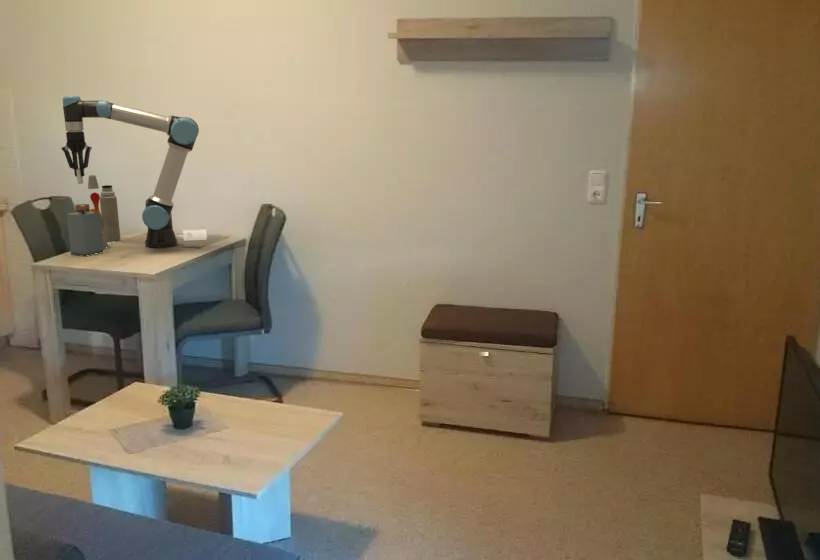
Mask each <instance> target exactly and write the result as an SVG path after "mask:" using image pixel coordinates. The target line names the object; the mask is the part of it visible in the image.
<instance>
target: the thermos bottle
mask: <svg viewBox="0 0 820 560" xmlns="http://www.w3.org/2000/svg"><path fill="white" fill-rule="evenodd" d="M99 204H100V206H99V207H100V213H101V215H102V216H106V220H105V224H104V228H103V234H104V236H105V239H106V241H107V243H112V241H115V242H118V241H119V240H120V241H121V232H120V221H119V220H120V218H119V210H118V199H117V195H116V194H115V191H113V185H109V184H108V185H107V184H105V185H102V186H101V192H100V199H99Z"/></svg>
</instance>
